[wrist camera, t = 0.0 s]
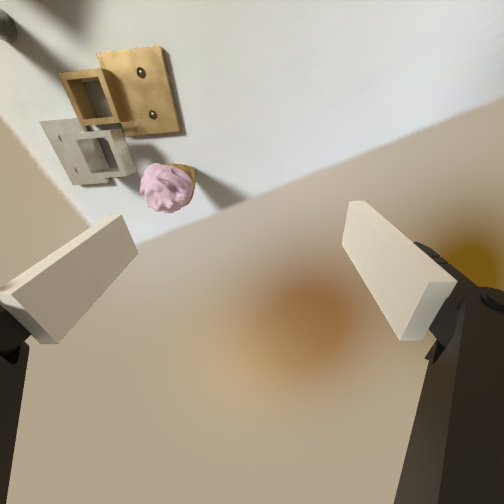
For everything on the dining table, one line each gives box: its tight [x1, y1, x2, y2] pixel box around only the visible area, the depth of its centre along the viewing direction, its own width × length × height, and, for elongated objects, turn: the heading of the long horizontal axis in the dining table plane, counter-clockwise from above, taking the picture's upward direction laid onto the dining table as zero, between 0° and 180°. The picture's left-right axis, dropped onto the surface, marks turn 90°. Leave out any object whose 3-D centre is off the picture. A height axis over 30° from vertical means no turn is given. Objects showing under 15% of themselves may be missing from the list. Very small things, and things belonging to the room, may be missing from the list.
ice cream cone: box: [139, 163, 196, 213], centre depth 32 cm, size 7×6×15 cm
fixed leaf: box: [58, 46, 181, 136], centre depth 31 cm, size 10×14×3 cm
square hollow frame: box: [40, 118, 137, 185], centre depth 34 cm, size 10×14×6 cm
